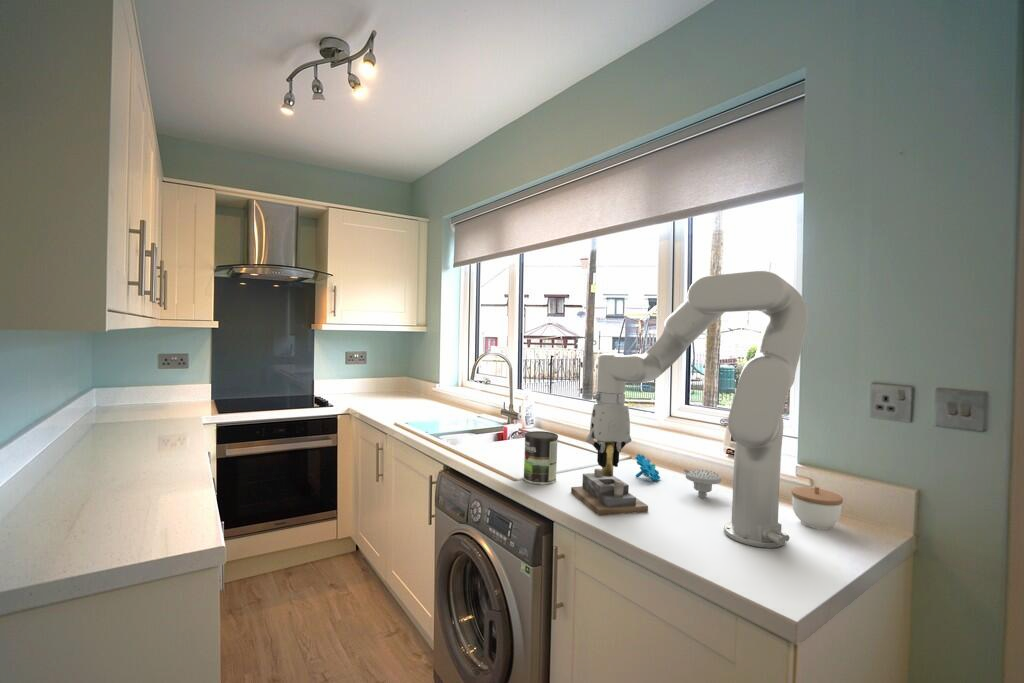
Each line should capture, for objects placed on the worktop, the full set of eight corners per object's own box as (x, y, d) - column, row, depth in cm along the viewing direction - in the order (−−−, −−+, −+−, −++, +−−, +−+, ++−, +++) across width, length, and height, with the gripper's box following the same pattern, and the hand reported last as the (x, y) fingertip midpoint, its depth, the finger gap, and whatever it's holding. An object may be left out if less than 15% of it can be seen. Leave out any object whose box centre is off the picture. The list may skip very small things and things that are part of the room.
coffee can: (533, 486, 144) (535, 439, 144) (517, 477, 153) (518, 432, 153) (563, 482, 149) (564, 436, 149) (545, 473, 158) (546, 430, 158)
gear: (653, 480, 148) (634, 453, 153) (639, 491, 150) (620, 464, 155) (667, 477, 157) (648, 451, 162) (653, 488, 159) (635, 462, 164)
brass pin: (614, 476, 132) (616, 439, 132) (604, 476, 131) (606, 440, 131) (609, 473, 135) (611, 437, 135) (599, 473, 134) (601, 437, 134)
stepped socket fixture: (647, 511, 126) (648, 484, 126) (598, 515, 123) (599, 487, 123) (615, 489, 144) (616, 465, 144) (571, 492, 140) (571, 468, 140)
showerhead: (683, 464, 146) (719, 468, 143) (682, 488, 146) (718, 493, 143) (683, 473, 137) (722, 477, 134) (682, 498, 137) (721, 503, 134)
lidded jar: (780, 517, 125) (781, 481, 125) (814, 515, 127) (816, 479, 127) (816, 535, 114) (817, 495, 114) (852, 531, 117) (854, 492, 117)
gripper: (588, 401, 127) (585, 471, 127) (644, 400, 131) (641, 468, 132) (577, 396, 134) (574, 463, 135) (630, 396, 139) (628, 461, 139)
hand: (607, 465), depth 133 cm, fingers closed on brass pin, 3 cm apart
